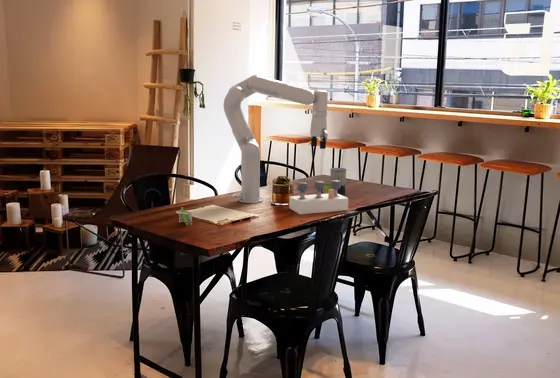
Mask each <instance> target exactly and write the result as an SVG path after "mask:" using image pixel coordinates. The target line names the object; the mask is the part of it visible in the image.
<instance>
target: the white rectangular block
mask: <svg viewBox="0 0 560 378" xmlns="http://www.w3.org/2000/svg"><path fill="white" fill-rule="evenodd" d="M288 201H289V206H288V208H289V209H290V210H292V211H294V212H295V213H296V214H299V215H308V214H317V213H329V212H340V211H348V210H349V198H348V197H347V196H342V195H340V194H338V193H337V197H334V199H328V194H322V193H321V198H317V193H316V194H315V193H314V194H305V198H304V199H303V200H300V195H292V196H289V200H288Z"/></svg>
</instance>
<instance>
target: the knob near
mask: <svg viewBox="0 0 560 378" xmlns="http://www.w3.org/2000/svg"><path fill="white" fill-rule="evenodd" d="M296 184H297V185H296V186H297V190H296V191H299V196H300V200H303V199H304V198H305V195H306V194H305V193H306V192H307V191H308V190H309V189H308V188H309V187H308V184H309V183H308V182H306V181H300V182H297V183H296Z"/></svg>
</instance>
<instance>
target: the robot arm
mask: <svg viewBox="0 0 560 378" xmlns="http://www.w3.org/2000/svg"><path fill="white" fill-rule="evenodd" d="M256 93H257V94H261V95H265V96H269V97H273V98H277V99H280V100H286V101H289V102H294V103H299V104H302V105H306V106H309V105H312V112H311V113H312V114H311V119H310V120H311V121H310V130H309V131H310V132H309V133H310V147H317V145H318V138H320V140H319V149H320V150H322V149H323V150H324V149H325V150H326V149H327V147H326V146H327V141H328V140H327V139H328V136H329V133H328V131H327V129H328V127H327V126H328V125H327V122H328V121H327V118H328V99H329V97H328V96H329V94H328V93H329V92H328V90H325V89H323V90H321V89H315V90H310V89H307V88H304V87H299V86H295V85H292V84H289V83H287V82H284V81H281V80H277V79H273V78H269V77H265V76H261V75H258V74H254V75H251V76H249V77H248V78H246V79H244V80H242V81H240V82H238V83H236V84H234V85H232V86H231V87H230V88H229V89H228V91H227V93H226V95H225V97H224V101H223V112H224V114H225V116H226V119H227V121H228V124H229V126H230V129H231V133H232V135H233V137H234V138H235V139H234V140H235V141H236V143H237V145H238V147H239V150H240V152H241V155H240V156H241V161H240V162H241V164H240V165H241V168H240V172H241V177H240V178H241V180H240V181H241V187H240V188H241V191H239V193H237V194H236V193H234V194H232V196H231V197H232V199H238V200H237V201H238V202H239V203H243V204H257V203H261V202H263V200H264V199H263V197H260V194H261V193H260V191H261V189H260V187H261V183H260V178H261V177H260V174H261V172H260V171H261V168H260V167H261V162H260V161H261V148H260V145H259V143H258V142H257V140H256V137H255V135H254V133H253V131H252V129H251V126H250V124H249V123H248V121H247V119H246V117H245V114H244V112H243V110H242V107H241V106H242V105H241V104H242V102H243V101H244V99H247V98H248V97H250V96H252V95H254V94H256Z"/></svg>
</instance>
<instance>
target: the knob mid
mask: <svg viewBox="0 0 560 378" xmlns="http://www.w3.org/2000/svg"><path fill="white" fill-rule="evenodd" d="M324 183H325V181H323V180H316V181H315V180H314V181H313V189H314V190H315V191H316V194H317V198H321V194H322V193H321V190H322V191H323V190H324Z"/></svg>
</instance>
